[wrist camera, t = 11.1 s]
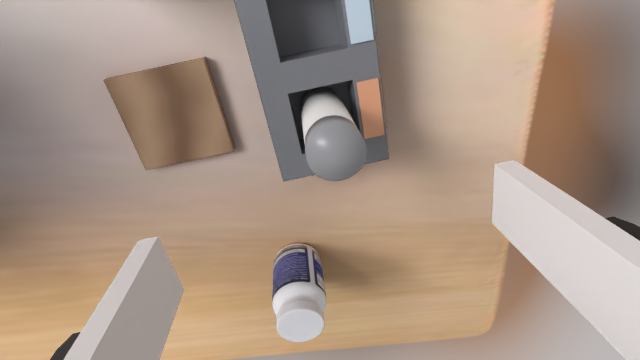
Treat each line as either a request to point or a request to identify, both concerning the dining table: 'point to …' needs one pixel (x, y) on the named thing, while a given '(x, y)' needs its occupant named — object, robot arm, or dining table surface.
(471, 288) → the dining table surface
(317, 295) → the pill bottle
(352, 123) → the plug
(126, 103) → the coaster
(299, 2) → the socket box
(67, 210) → the dining table surface
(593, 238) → the robot arm
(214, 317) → the dining table surface
